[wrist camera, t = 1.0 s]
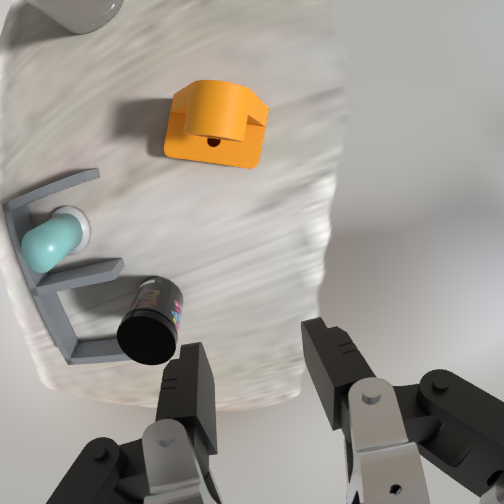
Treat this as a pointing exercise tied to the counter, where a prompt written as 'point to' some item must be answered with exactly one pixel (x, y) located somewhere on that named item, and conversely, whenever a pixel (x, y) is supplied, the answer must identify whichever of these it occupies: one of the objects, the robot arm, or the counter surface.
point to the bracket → (216, 124)
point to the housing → (48, 255)
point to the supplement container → (152, 322)
